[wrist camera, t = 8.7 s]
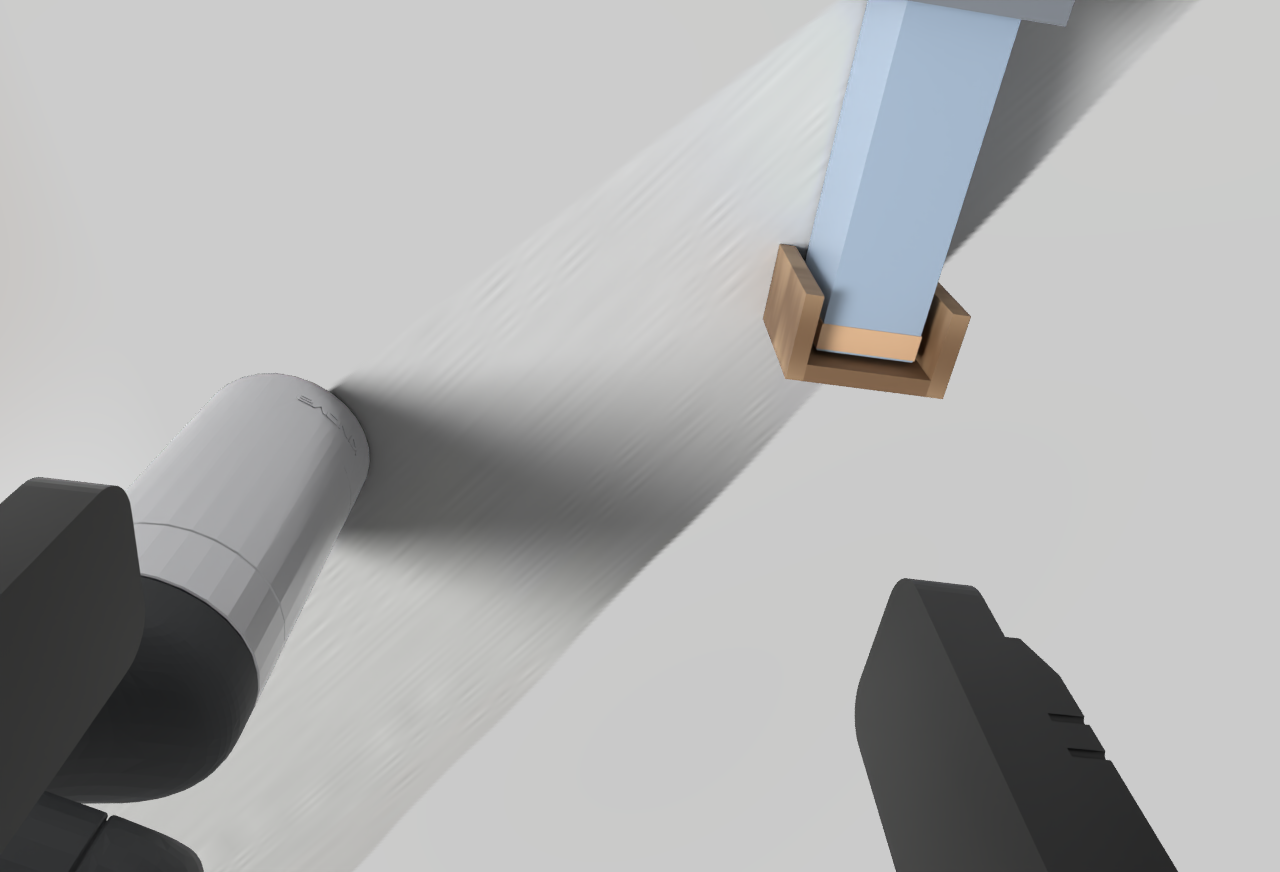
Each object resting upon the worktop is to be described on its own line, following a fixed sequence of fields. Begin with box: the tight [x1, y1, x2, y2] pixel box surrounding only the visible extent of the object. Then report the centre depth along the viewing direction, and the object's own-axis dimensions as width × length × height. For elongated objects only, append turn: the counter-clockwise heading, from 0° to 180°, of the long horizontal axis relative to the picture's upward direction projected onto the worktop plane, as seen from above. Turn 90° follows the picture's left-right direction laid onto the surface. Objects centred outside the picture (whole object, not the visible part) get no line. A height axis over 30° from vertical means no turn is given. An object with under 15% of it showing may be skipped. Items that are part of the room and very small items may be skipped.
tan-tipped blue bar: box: [805, 0, 1021, 363], centre depth 40 cm, size 16×5×6 cm, turn 172°
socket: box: [763, 244, 971, 399], centre depth 42 cm, size 4×7×7 cm, turn 82°
